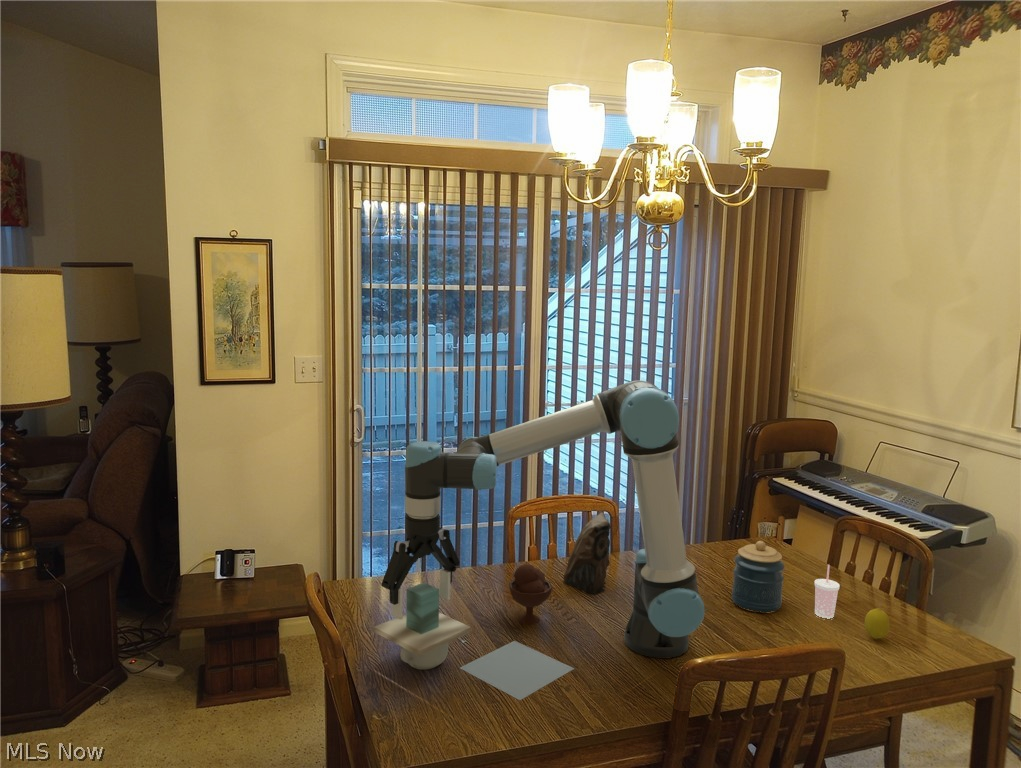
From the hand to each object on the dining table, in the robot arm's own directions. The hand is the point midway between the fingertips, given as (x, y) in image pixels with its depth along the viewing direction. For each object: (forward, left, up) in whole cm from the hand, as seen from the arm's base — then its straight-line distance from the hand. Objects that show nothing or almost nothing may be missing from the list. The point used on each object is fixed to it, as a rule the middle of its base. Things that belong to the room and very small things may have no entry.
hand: (421, 607), depth 166 cm
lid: (0, 0, -6) cm, 6 cm away
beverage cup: (-54, -92, -14) cm, 108 cm away
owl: (+2, -63, -14) cm, 65 cm away
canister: (-38, -86, -14) cm, 95 cm away
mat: (-16, -14, -14) cm, 25 cm away
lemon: (-68, -88, -14) cm, 112 cm away
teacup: (0, 0, -14) cm, 14 cm away
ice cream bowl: (-2, -34, -14) cm, 37 cm away
